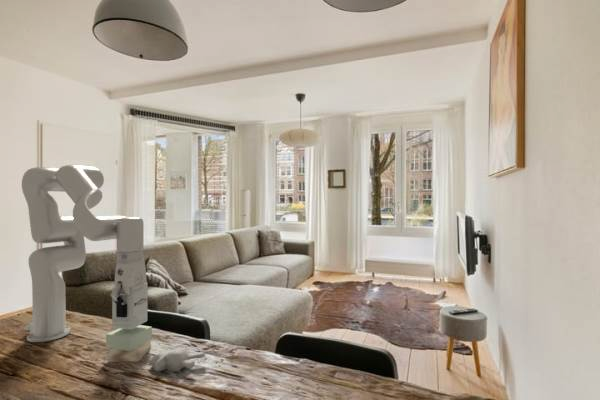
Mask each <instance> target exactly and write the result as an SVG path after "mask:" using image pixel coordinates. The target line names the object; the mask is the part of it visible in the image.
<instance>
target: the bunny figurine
mask: <svg viewBox="0 0 600 400" xmlns="http://www.w3.org/2000/svg"><path fill="white" fill-rule="evenodd" d="M205 357H206V355H205V353H204V351H200V352H196V353H191V354H190V353H189V351H188V350H187V348H186V347H175V349H171V350H168V349H163V350H162V351H160V352H158V353H157V354H156V355H154V356H153V357H151V358H150V359H149V360H148V364H149V365H148V366H151V367H152V368H153V370H155V372H161V371H165V370H166V371H168V372H172V373H173V372H174V373H175V372H180V371H181V370H182V369H184V368H186V369H192V368H193V367H194V366H195V363H196V361H195V360H193V359H200V358H201V359H202V358H205Z"/></svg>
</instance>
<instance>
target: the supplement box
mask: <svg viewBox="0 0 600 400" xmlns="http://www.w3.org/2000/svg"><path fill="white" fill-rule="evenodd" d="M148 286H149V285H148V282H147V283H142V284H140V285H138V286H135V287H133V288H131V295H127V300H126V303H125V304H127V317H125V318H123V317H116V304H115V302H114V301H113V298H112V297H111V299H112V303H111V304H112V305H111V306H112V308H111V311H112V313H111V315H112V316H111V318H112V319H111V321H112V322H111V325H112V326H111V328H112V329H113V328H114V329H119V328H120V329H134V328H135V327H137V326H139V325H143V324H144V323H146V322H147V321H148V290H149V289H148ZM114 289H115V287H114V286H112V292H113V290H114ZM112 292H111V293H112ZM120 293H124V292H123V289H121V290H120ZM120 297H121V298H122V300H123V297H124V296H120Z"/></svg>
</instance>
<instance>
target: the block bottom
mask: <svg viewBox="0 0 600 400" xmlns="http://www.w3.org/2000/svg"><path fill="white" fill-rule="evenodd" d="M151 340H152V339H151ZM151 340H149V341H148V342H146V343H144V344H142V345H140V346H138V347H137V348H135V349H133V350H131V351H126V350H120V349H114V348H107V362H108V363H115V362H116V363H117V362H118V363H119V362H120V363H121V362H139V361H140V360H141V359H142V358H143V357H144V356H145V355H146V354H147V353H148V351H150V349H151V348H152V346H151V345H152V344H151V343H152V341H151Z"/></svg>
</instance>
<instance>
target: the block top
mask: <svg viewBox="0 0 600 400" xmlns="http://www.w3.org/2000/svg"><path fill="white" fill-rule="evenodd" d="M105 340H106V341H105V345H106V346H105V347H106V348H107V349H109V348H114V349H120V350H126V351H131V350H133V349H135V348H137V347H138V346H140V345H142V344H144V343H146V342H148V341H149V340H153V327H152V326H149V325H143V324H141V325H139V326H137V327H135V328H134V329H120V328H115V330H112V331H110V332H108V333H106V334H105Z"/></svg>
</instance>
